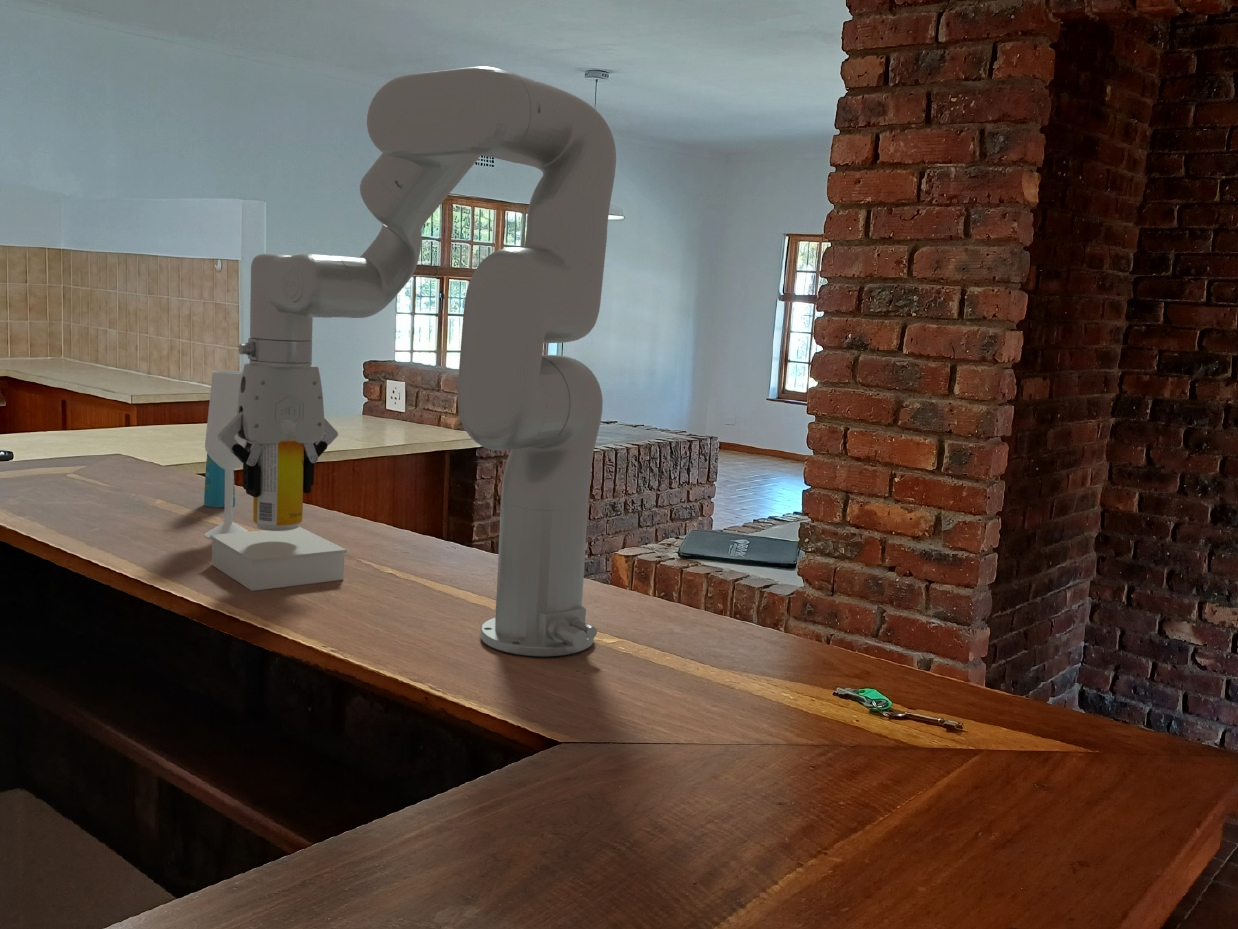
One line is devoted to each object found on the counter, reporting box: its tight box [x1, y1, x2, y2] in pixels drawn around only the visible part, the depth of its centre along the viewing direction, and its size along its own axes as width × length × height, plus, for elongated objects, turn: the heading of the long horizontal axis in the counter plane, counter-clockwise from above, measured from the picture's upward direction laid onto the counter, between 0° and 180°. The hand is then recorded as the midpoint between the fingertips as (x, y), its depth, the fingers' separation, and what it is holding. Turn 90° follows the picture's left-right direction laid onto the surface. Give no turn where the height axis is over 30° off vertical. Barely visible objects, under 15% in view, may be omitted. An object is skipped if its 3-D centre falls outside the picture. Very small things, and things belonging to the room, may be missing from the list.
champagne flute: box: [204, 370, 250, 539], centre depth 159 cm, size 7×7×24 cm
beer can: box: [252, 420, 304, 531], centre depth 140 cm, size 6×6×15 cm
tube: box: [203, 452, 236, 509], centre depth 179 cm, size 7×5×19 cm, turn 28°
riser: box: [209, 526, 347, 592], centre depth 142 cm, size 14×12×4 cm
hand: (278, 492), depth 140 cm, fingers closed on beer can, 6 cm apart
